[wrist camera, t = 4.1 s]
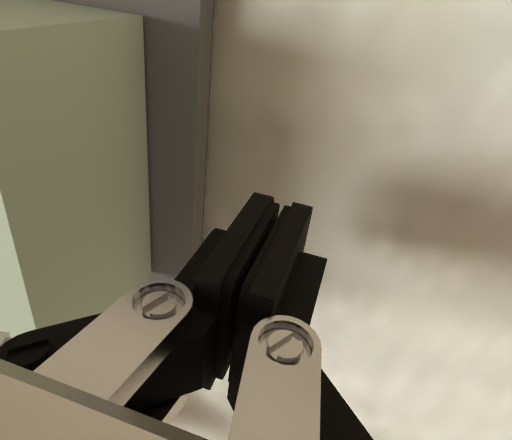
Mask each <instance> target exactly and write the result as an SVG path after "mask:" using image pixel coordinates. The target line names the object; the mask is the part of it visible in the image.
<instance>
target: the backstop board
mask: <svg viewBox="0 0 512 440" xmlns="http://www.w3.org/2000/svg"><path fill="white" fill-rule="evenodd" d="M54 1H60V2H66V3H72V4H78V5H84V6H90V7H96V8H102V9H107V10H113V11H119V12H125V13H131V14H137V15H143V34H144V64H145V94H146V123H147V153H148V183H149V213H150V242H151V272H152V273H151V274H150V275H149V277H148V278H147V279H146V280H145V281H147V280H150V279H157V278H165V279H172V280H174V279H175V278H176V277H177V275H178V274H179V273H180V272H181V270H182V269H183V268H184V266H185V265H186V264H187V263H188V261H189V260H190V259H191V257H192V256H193V255H194V254H195V252H196V251H197V250H198V248H199V247H200V246H201V244H202V228H203V209H204V189H205V169H206V149H207V129H208V109H209V89H210V70H211V50H212V30H213V10H214V0H54Z"/></svg>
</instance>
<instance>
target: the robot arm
mask: <svg viewBox="0 0 512 440" xmlns="http://www.w3.org/2000/svg"><path fill="white" fill-rule="evenodd" d="M279 207H280V205H279V204H278V203H274V197H271V196H267V195H263V194H259V193H255V192H254V193H253V195H252V196H251V197H250V199H249V200H248V202H247V203H246V204H245V206H244V207H243V209H242V210H241V211H240V213H239V214H238V216H237V217H236V218H235V220H234V221H233V223H232V224H231V225H230V227H229V228H228V230H227V231H225V230H221V229H218V228H215V229H214V230H213V231H212V232H211V233H210V234H209V235H208V237H207V238H206V239H205V241H204V242H203V243H202V244H201V246H200V247H199V248H198V250H197V251H196V252H195V254H194V255H193V256H192V257H191V259H190V260H189V261H188V263H187V264H186V265H185V266H184V268H183V269H182V270H181V272H180V273H179V274H178V275H177V277H176V278H175V279H174V280H172V279H165V278H157V279H150V280H147V281H144V282H141V283H139V284H138V285H136V286H134V287H133V288H132V289H130V290H129V291H128V292H127V293H126V294H124V295H123V296H122V297H121V298H120V299H118V300H117V301H116V302H115V303H114V304H113V305H111V306H110V307H109V308H108V309H107V310H105V311H104V312H103V313H99V314H95V315H91V316H87V317H83V318H79V319H75V320H71V321H67V322H63V323H59V324H55V325H51V326H47V327H43V328H39V329H35V330H31V331H28V332H25V333H22V334H19V335H17V336H15V337H13V338H11V336H10V333H9V332H3V331H0V440H208V439H205V438H203V437H200V436H197V435H195V434H192V433H190V432H187V431H185V430H182V429H180V428H177V427H175V426H172V425H170V424H171V423H172V422H173V420H174V419H175V417H176V416H177V415H178V413H179V412H180V410H181V409H182V408H183V406H184V405H185V403H186V401H187V399H188V394H189V393H191V392H194V391H196V390H199V389H202V388H205V389H208V390H210V389H211V387H212V385H213V383H214V381H215V379H216V378H218V379H221V380H222V379H223V378H224V376H225V374H226V372H227V370H228V368H229V366H230V370H229V378H228V382H229V388H228V396H227V399H228V401H229V403H230V405H231V407H232V409H233V411H234V414H233V418H232V423H231V428H230V432H229V437H228V440H373V439H372V437H371V436H370V434H369V433H368V432H367V430H366V429H365V428H364V426H363V425H362V424H361V422H360V421H359V419H358V418H357V417H356V415H355V414H354V413H353V411H352V410H351V408H350V407H349V406H348V404H347V403H346V402H345V400H344V399H343V398H342V396H341V395H340V393H339V392H338V391H337V389H336V388H335V387H334V385H333V384H332V383H331V381H330V380H329V378H328V377H327V376H326V374H325V373H324V372H323V370H322V369H321V343H320V339H319V337H318V335H317V334H316V332H315V331H314V330H313V329H312V328H311V327H310V326H309V325H310V322H311V318H312V314H313V311H314V307H315V303H316V299H317V296H318V292H319V288H320V284H321V281H322V277H323V273H324V269H325V266H326V262H327V259H326V258H322V257H319V256H315V255H311V254H308V253H304V252H303V250H304V246H305V242H306V237H307V233H308V228H309V224H310V219H311V215H312V209H313V207H311V206H307V205H303V204H299V203H295V202H293V204H292V206H291V207H290V206H286V205H285V206H284V207H283V209H282V211H281V213H280V215H279V217H278V213H279Z"/></svg>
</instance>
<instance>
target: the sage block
mask: <svg viewBox="0 0 512 440" xmlns="http://www.w3.org/2000/svg"><path fill="white" fill-rule="evenodd" d="M151 273H152V272H151V242H150V213H149V183H148V153H147V123H146V94H145V64H144V34H143V15H137V14H131V13H125V12H119V11H113V10H107V9H102V8H96V7H90V6H84V5H78V4H72V3H66V2H60V1H54V0H0V331H3V332H9V333H10V336H11V338H13V337H15V336H17V335H19V334H22V333H25V332H28V331H31V330H35V329H39V328H43V327H47V326H51V325H55V324H59V323H63V322H67V321H71V320H75V319H79V318H83V317H87V316H91V315H95V314H99V313H103V312H104V311H105V310H107V309H108V308H109V307H110V306H111V305H113V304H114V303H115V302H116V301H117V300H118V299H120V298H121V297H122V296H123V295H124V294H126V293H127V292H128V291H129V290H130V289H132V288H133V287H134V286H136V285H138V284H139V283H141V282H144V281H145V280H146V279H147V278H148V277H149V275H150V274H151Z"/></svg>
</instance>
